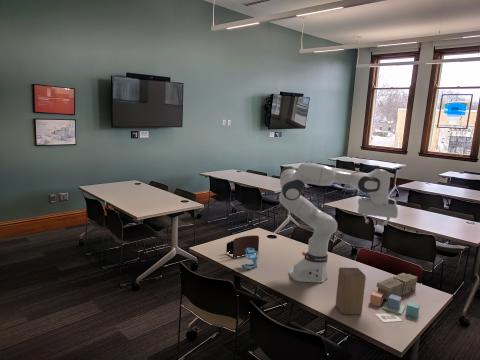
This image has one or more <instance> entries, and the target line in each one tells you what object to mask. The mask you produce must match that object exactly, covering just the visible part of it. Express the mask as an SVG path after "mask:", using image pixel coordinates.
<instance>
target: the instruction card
mask: <svg viewBox="0 0 480 360" xmlns="http://www.w3.org/2000/svg"><path fill="white" fill-rule="evenodd" d="M374 315H375V316H376V317H377V318H378V319H379V320H380V321H381V322H382V323H395V322H403V320H402V319H401V318H400V317H399V316H398V314H396V313H393V312H387V313H386V312H385V313H374Z"/></svg>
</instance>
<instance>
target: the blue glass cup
mask: <svg viewBox="0 0 480 360" xmlns="http://www.w3.org/2000/svg"><path fill="white" fill-rule="evenodd" d="M249 249H251V250H249ZM254 250H255V249H252V248H247V249H245V251H246V254H244V256H245V258H246V259H247V260H249V261H250V260H251V261H252V263H242V264H243V265H242V267H243V266H244V267H245V268H246V269H249V270H251V269H250V268H252V269H255V268H254V267H256V268H258V262H257V260H258V259H259V257H258V254H259V251H258V252H256V251H254ZM247 252H248V254H247ZM250 253H253V254H250ZM254 253H256V255H255V254H254ZM257 253H258V254H257ZM244 264H245V265H244ZM248 265H255V266H249V267H248ZM244 267H243V268H244ZM245 268H244V269H245ZM246 269H245V270H246Z"/></svg>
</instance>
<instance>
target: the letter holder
mask: <svg viewBox="0 0 480 360" xmlns="http://www.w3.org/2000/svg"><path fill="white" fill-rule="evenodd" d="M259 244H260V237H259V235H256V234H255V235H253V234H252V235H244V236H239V237H237V238H234V239H233V240H231V241H228V242H227V243H226V249H225V253H226V252H229V251H230V252H229V254H233V257H237V256H242V255H244V254H246V251H245V249H247V248H252V249H255V250H254V251H256V252H258V253H259V246H260V245H259ZM249 250H251V249H249ZM247 254H248V252H247ZM250 254H253V253H250Z"/></svg>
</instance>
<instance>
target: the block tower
mask: <svg viewBox="0 0 480 360" xmlns="http://www.w3.org/2000/svg"><path fill="white" fill-rule="evenodd" d="M417 282H418V276H416V275H412V274H411V273H405V272H402V273H399V274H397V275H394V276H392V277H389V278H385V279H384V280H382V281H377V282H376V288H377V292H379V293H383V300H386V301H388V299H389V296H390V295H391V294H392V295H396V296H399V297H401V298H402V296H404V295H406V294H407V295H408V294H409V293H411V292H414V291H415V290H417V289H416V288H417Z"/></svg>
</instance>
